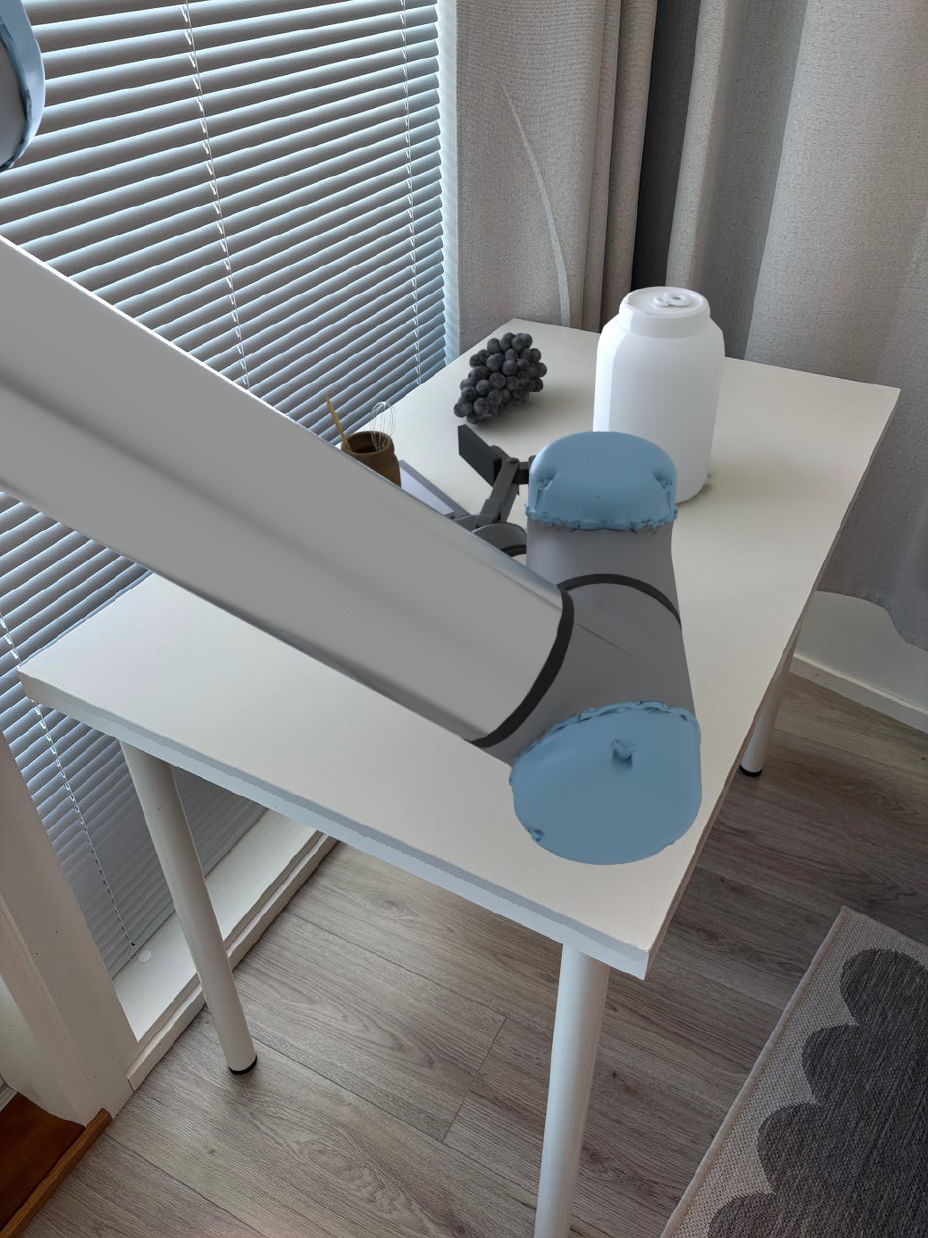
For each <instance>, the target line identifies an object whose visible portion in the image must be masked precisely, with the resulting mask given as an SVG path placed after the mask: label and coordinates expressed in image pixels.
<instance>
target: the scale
mask: <svg viewBox="0 0 928 1238" xmlns="http://www.w3.org/2000/svg"><path fill="white" fill-rule="evenodd" d="M398 462H399V467H400V475H401V486H402V489H404V490H405V491H407V492H408V493H410V494H412V495H413V496H415V497H416V498H418V499H420V500H421V501H423V502H424V503H426V504H428V505H429V506H431V507H432V508H434V509H435V510H437V511H439V512H440V513H442V514H443V515H445V516H447V517H448V518H450V519H451V520H452V519H454V518H456V517H458V516H460V515H464V514H467V513H470V512H468V510H466V509H465V508H464V507H462V506H461V505H460V504H459V503H457V502H456V501H455V500H454V499H453V498H451V497H450V496H449V495H448V494H446V493H445V492H444V491H443V490H442V489H440V488H439V487H437V486H436V485H435V484H434V483H432V482H431V480H429V479H427V478H426V477H425V476H424V475H423V474H421V473H420V472H419V471H418V470H416V468H414V467H413V466H411V465H410V464H409V463H407V462H406V461H405V460H404V459H400V460H398Z"/></svg>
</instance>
